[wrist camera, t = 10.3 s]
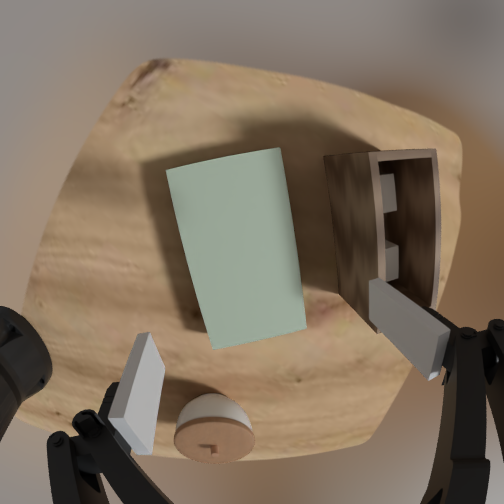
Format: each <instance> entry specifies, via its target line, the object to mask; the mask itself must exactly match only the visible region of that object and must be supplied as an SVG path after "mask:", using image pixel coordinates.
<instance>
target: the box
mask: <svg viewBox="0 0 504 504" xmlns="http://www.w3.org/2000/svg"><path fill="white" fill-rule="evenodd" d="M324 163H325V169H326V176H327V182H328V189H329V197H330V204H331V212H332V221H333V229H334V239H335V249H336V260H337V273H338V287H339V295H340V296H341V297H342V298H343V299H344V300H345V301H346V302H347V303H348V304H349V305H350V306H351V307H352V308H353V309H354V310H355V311H356V312H357V313H358V314H359V316H360V317H361V318H362V319H363V320H364V321H365V322H366V323H367V324H368V325H369V326H370V327H371V328H372V329H373V330H374V331H375V332H376V334H379V333H382V332H381V331H380V330H379V329H378V328H377V327H376V326H375V325H374V324H373V323H372V322H371V321H370V320H369V281H370V280H373V279H376V278H381V279H382V280H383V281H385V282H386V260H385V240H387V241H389V242H392V243H394V244H396V245H398V249H399V272H398V278H397V279H394V280H391V281H388V282H386V283H388V284H389V285H391V286H392V287H393V288H395V289H396V290H398V291H399V292H400V293H402V294H403V295H405V296H406V297H407V298H409V299H410V300H412V301H413V302H414V303H416V304H417V305H418V306H420V307H423V306H426V307H429V308H432V309H434V310H436V303H437V294H438V284H439V272H440V254H441V201H440V183H439V171H438V161H437V153H436V149H405V150H386V151H372V152H361V153H351V154H341V155H332V156H324ZM379 173H391V174H394V182H395V192H396V204H397V211H392V212H387V213H383V203H382V192H381V183H380V174H379Z"/></svg>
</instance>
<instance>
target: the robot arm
mask: <svg viewBox="0 0 504 504" xmlns="http://www.w3.org/2000/svg"><path fill="white" fill-rule="evenodd" d="M369 320H370V321H371V322H372V323H373V324H374V325H375V326H376V327H377V328H378V329H379V330H380V331H381V332H382V333H383V334H384V335H385V336H386V337H387V338H388V339H389V340H390V341H391V342H392V343H393V344H394V345H395V346H396V347H397V348H398V349H399V350H400V351H401V353H402V354H403V355H404V356H405V357H406V358H407V359H408V360H409V361H410V362H411V363H412V364H413V365H414V366H415V367H416V368H417V369H418V370H419V371H420V372H421V373H422V374H423V376H424V377H425V378H426V379H427V380H428V381H429V380H431V379H433V378H434V377H436V376H438V375H439V374H440V371H441V368H442V366H444V367H445V368H446V373H445V376H444V380H443V382H442V385H444V397H443V407H442V416H441V424H440V431H439V437H438V443H437V448H436V454H435V458H434V463H433V468H432V472H431V476H430V480H429V484H428V487H427V490H426V492H425V494H424V496H423V499H422V501H421V503H420V504H485V501H486V495H487V489H488V483H489V475H490V461H489V460H488V459H486V458H485V449H486V395H487V398H488V401H489V405H490V408H491V411H492V414H493V418H494V422H495V425H496V429H497V433H498V437H499V442H500V446H501V451H502V456H503V461H504V321H503V320H501V319H494V320H491V321H490V322H489V324H488V328H487V330H483V331H479V332H477V331H476V330H475V329H473V328H470V327H463V328H458V327H457V326H456V325H454V324H453V323H452V322H450V321H449V320H448V319H446V318H445V317H443V316H442V315H441V314H439V313H438V312H437V311H435V310H434V309H432V308H429V307H426V306H423V307H420V306H418V305H417V304H416V303H414V302H413V301H412V300H410V299H409V298H407V297H406V296H405V295H403V294H402V293H400V292H399V291H398V290H396V289H395V288H393V287H392V286H391V285H389V284H388V283H386V282H385V281H383V280H382V279H381V278H376V279H373V280H370V281H369ZM164 374H165V366H164V364H163V362H162V360H161V357H160V355H159V353H158V350H157V348H156V346H155V343H154V341H153V339H152V336H151V334H150V332H146V333H140V334H138V335H137V337H136V340H135V342H134V345H133V348H132V350H131V353H130V355H129V358H128V361H127V363H126V366H125V369H124V371H123V374H122V377H121V380H120V382H113V383H112V384H111V385H110V386H109V388H108V389H107V391H106V393H105V396H104V397H105V398H104V399H103V401H102V404H101V407H100V410H99V412H98V415H97V413H96V412H95V411H94V410H90V409H88V410H83V411H80V412H79V413H78V414H76V415H75V417H74V418H73V421H72V426H73V428H74V429H75V430H76V431H77V432H78V434H79V435H78V436H74V437H69V436H68V435H67V434H66V433H65V432H63V431H57V432H55V433H53V434H52V435H51V436H49V438H48V440H47V458H48V468H49V478H50V486H51V493H52V499H53V504H109V501H108V498H107V495H106V492H105V489H104V486H103V483H102V480H101V477H100V473H103V475H104V476H105V478H106V479H107V481H108V482H109V484H110V485H111V487H112V488H113V490H114V491H115V493H116V494H117V495H118V497H119V498H120V499H121V501H122V502H123V503H124V504H174V503H173V502H172V501H171V500H170V499H169V498H168V497H167V496H166V495H165V494H164V493H163V492H162V491H161V490H160V489H159V488H158V487H157V486H156V485H155V483H154V482H153V481H152V480H151V479H150V478H149V477H148V476H147V474H146V473H145V472H144V471H143V470H142V469H141V467H140V466H139V465H138V464H137V463H136V461H135V460H134V459H133V458H132V457H131V455H130V452H131V448H132V450H133V451H134V452H135V453H136V454H137V455H152V450H153V442H154V435H155V428H156V421H157V415H158V408H159V402H160V396H161V390H162V385H163V379H164ZM51 375H52V362H51V358H50V355H49V352H48V350H47V348H46V346H45V344H44V342H43V341H42V339H41V337H40V336H39V335H38V333H37V332H36V331H35V329H34V328H33V327H32V326H31V325H30V324H29V323H28V321H26V320H25V319H24V318H23V317H22V316H21V315H20V314H18V313H17V312H15V311H14V310H12V309H10V308H7V307H4V306H0V441H1V439H2V437H3V435H4V434H5V432H6V430H7V428H8V426H9V424H10V422H11V421H12V419H13V417H14V415H15V413H16V412H17V410H18V408H19V406H20V405H21V403H22V402H23V401H25V400H26V399H28V398H29V397H31V396H33V395H34V394H36V393H37V392H39V391H40V390H42V389H43V388H44V387H45V386H46V384H47V383H48V381H49V380H50V378H51Z"/></svg>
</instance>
